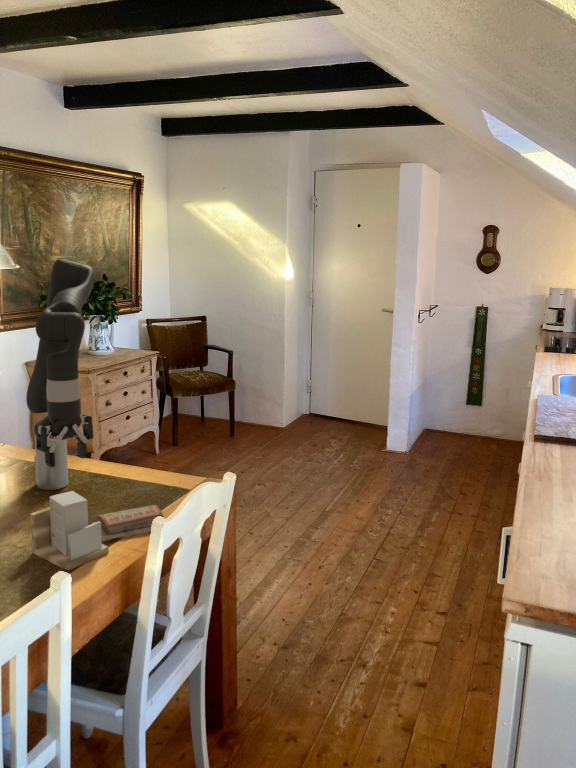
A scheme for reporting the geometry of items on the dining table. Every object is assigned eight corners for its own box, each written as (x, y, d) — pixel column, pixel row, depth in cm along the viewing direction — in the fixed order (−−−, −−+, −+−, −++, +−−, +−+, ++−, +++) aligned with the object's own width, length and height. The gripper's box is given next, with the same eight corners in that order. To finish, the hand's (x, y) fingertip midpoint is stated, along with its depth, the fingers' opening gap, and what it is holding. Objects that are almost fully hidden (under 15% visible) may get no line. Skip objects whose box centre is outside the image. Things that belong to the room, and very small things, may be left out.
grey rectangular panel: (69, 560, 155) (67, 533, 153) (99, 547, 162) (99, 521, 160) (71, 561, 154) (69, 534, 153) (102, 548, 161) (101, 522, 160)
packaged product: (154, 500, 184) (167, 513, 176) (155, 515, 186) (167, 529, 177) (90, 511, 175) (100, 526, 167) (91, 528, 176) (101, 543, 168)
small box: (90, 548, 161) (88, 499, 158) (65, 556, 156) (63, 506, 154) (74, 537, 166) (72, 490, 164) (50, 545, 162) (48, 496, 159)
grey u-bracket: (32, 553, 161) (30, 513, 159) (73, 536, 170) (72, 498, 168) (67, 570, 153) (65, 529, 151) (108, 552, 162) (107, 513, 160)
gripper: (79, 389, 161) (81, 451, 164) (27, 399, 149) (31, 466, 153) (98, 394, 156) (100, 458, 160) (46, 405, 145) (50, 473, 149)
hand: (66, 461), depth 156 cm, fingers open, 8 cm apart
